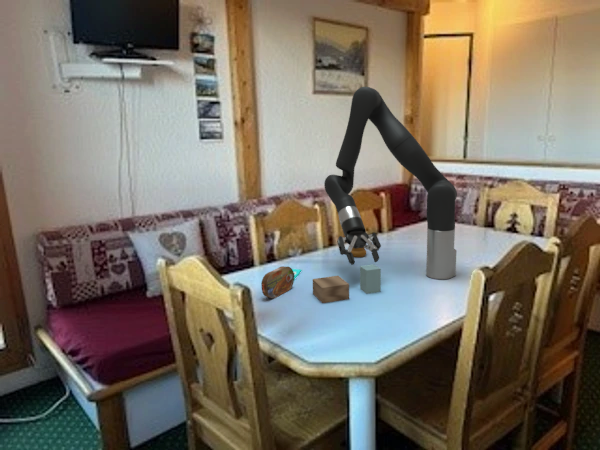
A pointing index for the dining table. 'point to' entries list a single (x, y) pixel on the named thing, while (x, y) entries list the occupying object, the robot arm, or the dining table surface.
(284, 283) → the tin
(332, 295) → the walnut plinth
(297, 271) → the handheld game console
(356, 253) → the ornamental finial
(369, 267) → the teal block
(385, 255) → the dining table surface
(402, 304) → the dining table surface
